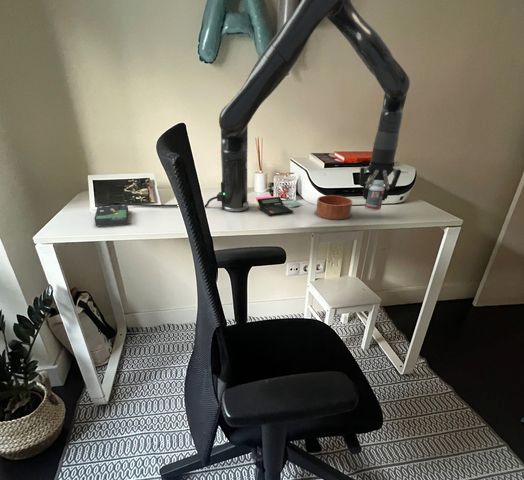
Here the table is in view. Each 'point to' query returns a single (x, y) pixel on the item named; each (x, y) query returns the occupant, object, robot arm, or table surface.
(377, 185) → the pill bottle
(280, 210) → the calculator
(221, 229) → the table surface
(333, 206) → the dish
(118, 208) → the disk drive
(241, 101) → the robot arm
